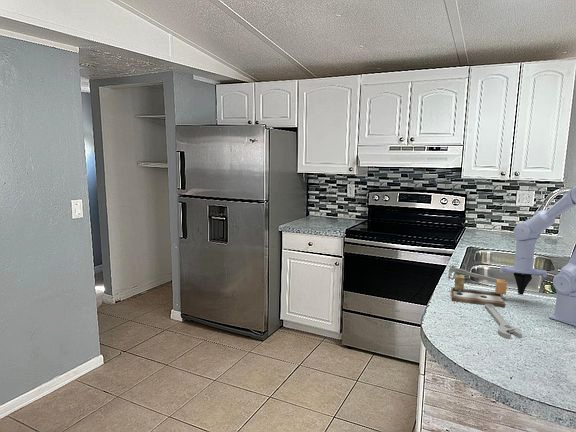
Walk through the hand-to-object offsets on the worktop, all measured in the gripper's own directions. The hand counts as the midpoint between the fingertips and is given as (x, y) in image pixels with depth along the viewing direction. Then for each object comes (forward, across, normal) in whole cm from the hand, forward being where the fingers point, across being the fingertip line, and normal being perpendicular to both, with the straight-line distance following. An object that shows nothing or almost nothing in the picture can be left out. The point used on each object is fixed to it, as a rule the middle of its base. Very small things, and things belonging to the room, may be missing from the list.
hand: (520, 293), depth 146 cm
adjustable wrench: (+3, +8, +23) cm, 24 cm away
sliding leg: (+1, +6, +2) cm, 7 cm away
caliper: (+3, +14, -20) cm, 25 cm away
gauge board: (+3, +14, +3) cm, 15 cm away
